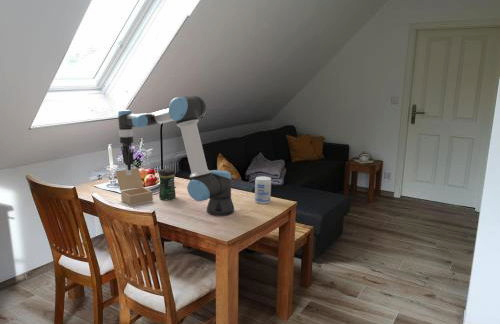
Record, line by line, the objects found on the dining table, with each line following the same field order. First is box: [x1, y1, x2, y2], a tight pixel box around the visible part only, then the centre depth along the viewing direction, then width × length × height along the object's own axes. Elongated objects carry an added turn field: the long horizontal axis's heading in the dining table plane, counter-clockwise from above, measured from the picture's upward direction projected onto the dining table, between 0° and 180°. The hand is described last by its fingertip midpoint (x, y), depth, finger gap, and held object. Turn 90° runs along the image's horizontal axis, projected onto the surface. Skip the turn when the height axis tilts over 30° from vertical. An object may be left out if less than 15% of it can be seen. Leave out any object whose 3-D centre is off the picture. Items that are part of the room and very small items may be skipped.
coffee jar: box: [158, 167, 177, 201], centre depth 235 cm, size 10×8×19 cm
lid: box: [115, 167, 144, 192], centre depth 235 cm, size 12×14×1 cm
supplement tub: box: [254, 175, 272, 205], centre depth 232 cm, size 10×10×15 cm
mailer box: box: [120, 186, 154, 207], centre depth 230 cm, size 12×14×6 cm
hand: (128, 175), depth 235 cm, fingers closed
